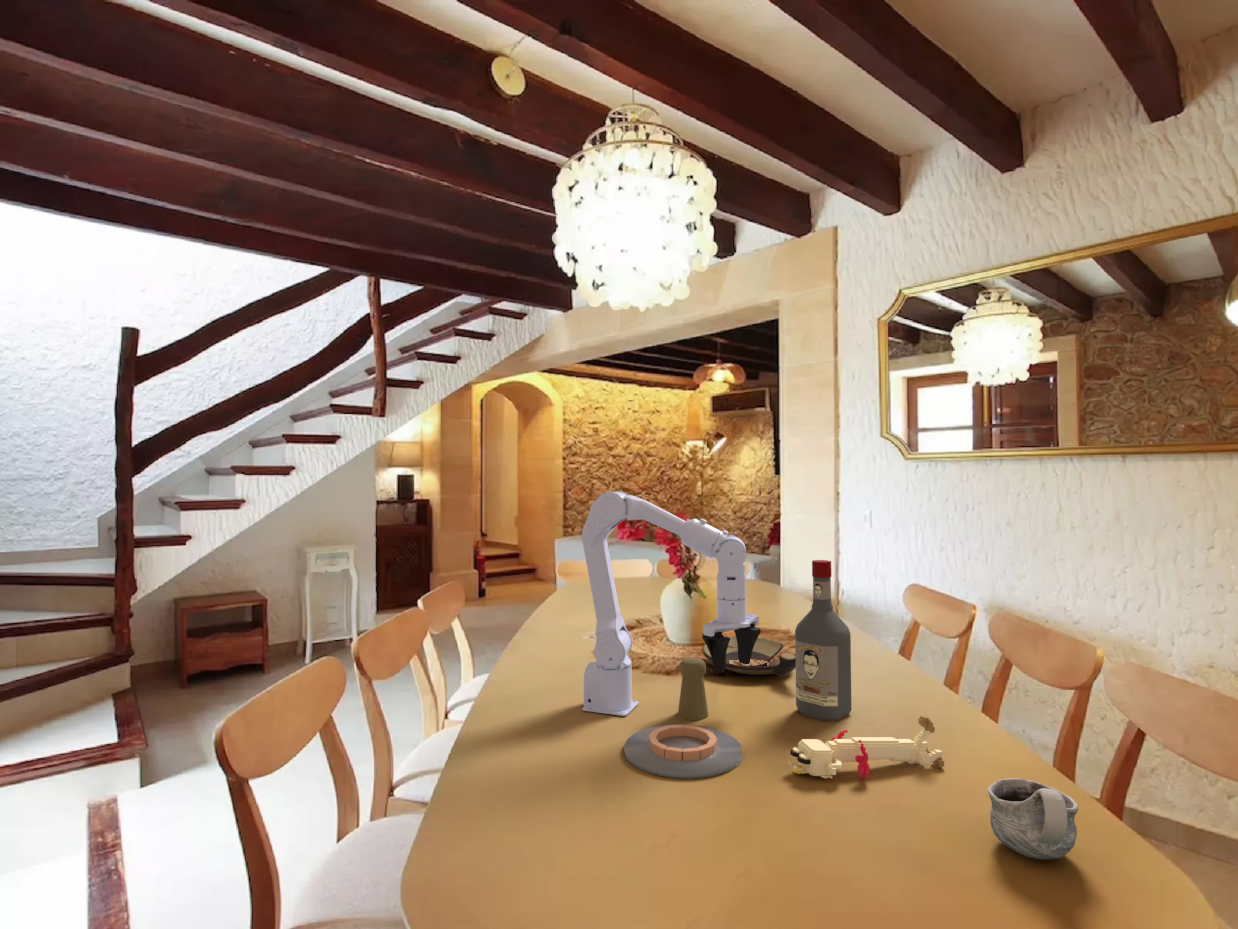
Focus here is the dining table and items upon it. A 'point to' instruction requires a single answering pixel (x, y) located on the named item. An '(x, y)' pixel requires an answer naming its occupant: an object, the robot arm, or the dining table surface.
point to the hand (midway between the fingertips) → (732, 666)
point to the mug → (1033, 818)
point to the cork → (692, 690)
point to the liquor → (823, 654)
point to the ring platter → (683, 751)
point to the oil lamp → (759, 658)
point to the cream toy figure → (863, 752)
